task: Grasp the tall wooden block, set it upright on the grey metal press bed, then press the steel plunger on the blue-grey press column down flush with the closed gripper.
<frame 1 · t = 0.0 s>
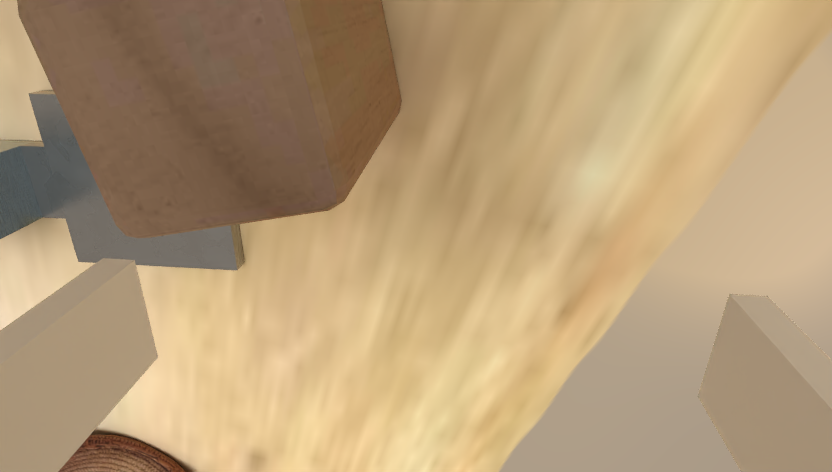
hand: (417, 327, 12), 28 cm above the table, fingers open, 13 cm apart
wooden block: (323, 54, 37), on the table
press: (149, 181, 42), on the table
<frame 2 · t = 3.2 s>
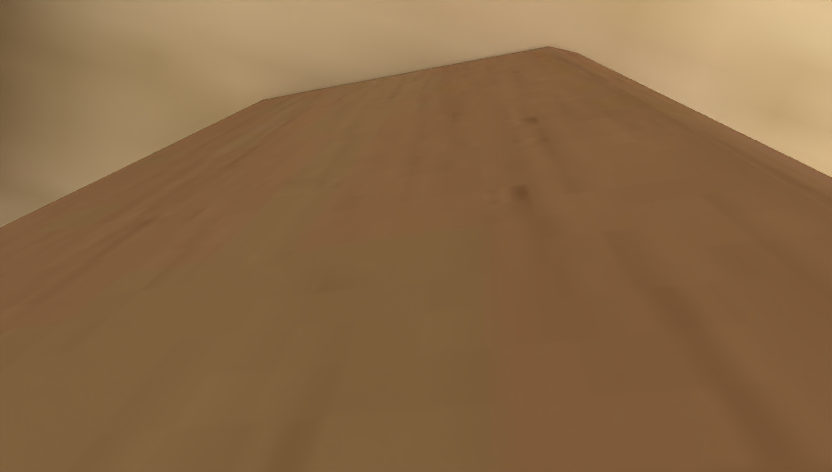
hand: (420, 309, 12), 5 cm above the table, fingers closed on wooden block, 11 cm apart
wooden block: (433, 223, 17), on the table, touching gripper
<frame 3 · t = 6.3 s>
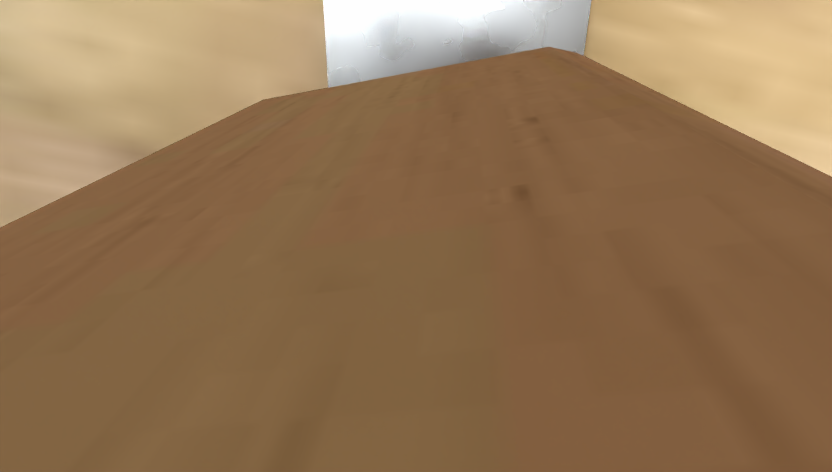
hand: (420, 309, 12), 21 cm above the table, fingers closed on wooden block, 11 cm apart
wooden block: (433, 223, 17), point 16 cm above the table, touching gripper
press: (449, 123, 31), on the table
when the fingers open (8 cm above the table, at t = 9.2 s): wooden block drops 1 cm, resting on press.
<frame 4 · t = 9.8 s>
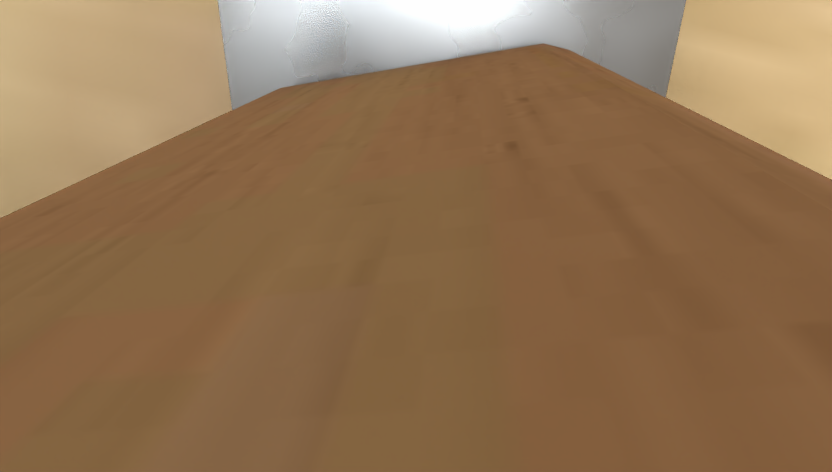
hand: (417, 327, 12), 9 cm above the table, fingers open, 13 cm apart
wooden block: (434, 207, 18), point 1 cm above the table, touching press
press: (438, 195, 20), on the table
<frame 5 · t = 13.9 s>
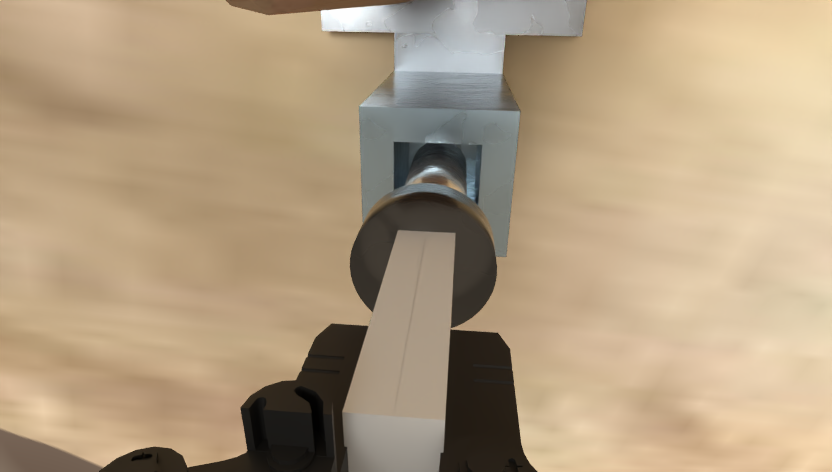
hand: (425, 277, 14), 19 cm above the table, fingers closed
plunger: (432, 206, 18), point 14 cm above the table, slide at 0.4 cm, touching gripper
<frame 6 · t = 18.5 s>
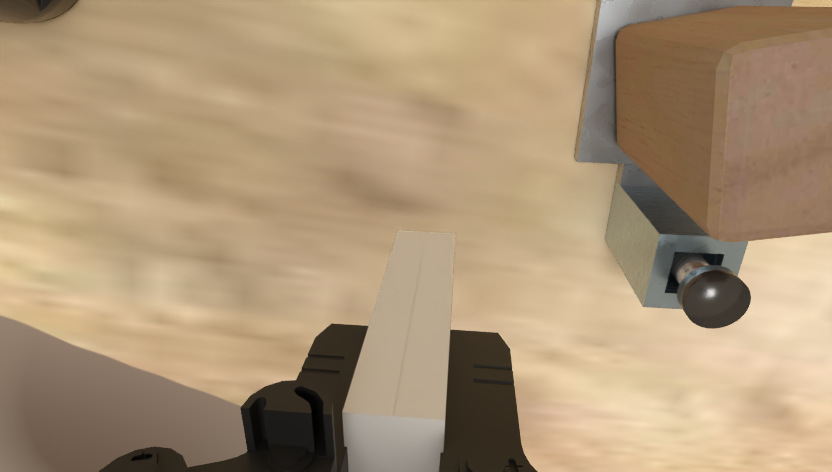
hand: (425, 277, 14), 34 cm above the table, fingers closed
wooden block: (676, 80, 42), point 1 cm above the table, touching press
press: (671, 79, 43), on the table
plunger: (689, 268, 38), point 11 cm above the table, slide at 3.6 cm
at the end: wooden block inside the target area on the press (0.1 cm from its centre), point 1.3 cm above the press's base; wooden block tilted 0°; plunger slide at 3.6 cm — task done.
